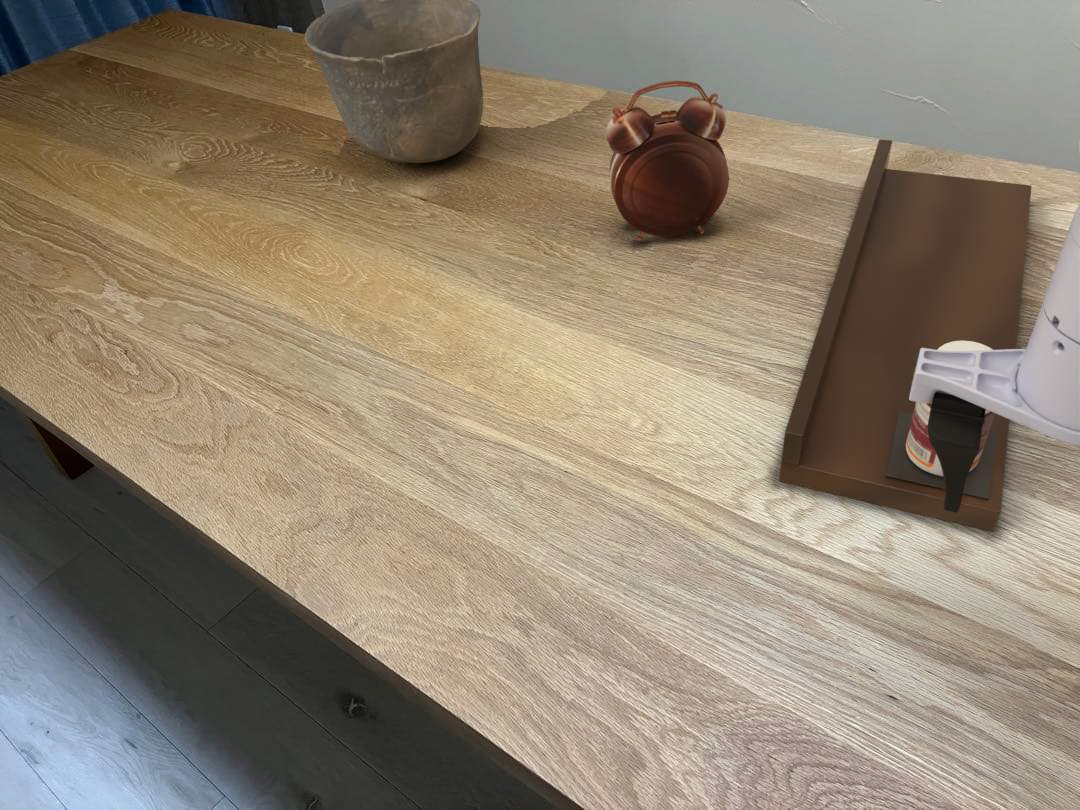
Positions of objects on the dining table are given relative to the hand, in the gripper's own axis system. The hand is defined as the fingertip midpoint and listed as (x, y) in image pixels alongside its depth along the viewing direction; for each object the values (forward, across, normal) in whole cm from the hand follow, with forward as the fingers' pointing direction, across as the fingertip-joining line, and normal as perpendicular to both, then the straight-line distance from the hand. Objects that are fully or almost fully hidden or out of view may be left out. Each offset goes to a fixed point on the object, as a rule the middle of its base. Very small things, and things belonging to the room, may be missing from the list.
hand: (1029, 515), depth 49 cm
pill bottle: (+8, +4, -11) cm, 14 cm away
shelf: (+10, +7, -28) cm, 30 cm away
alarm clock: (+10, +31, -35) cm, 48 cm away
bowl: (+10, +63, -43) cm, 77 cm away
